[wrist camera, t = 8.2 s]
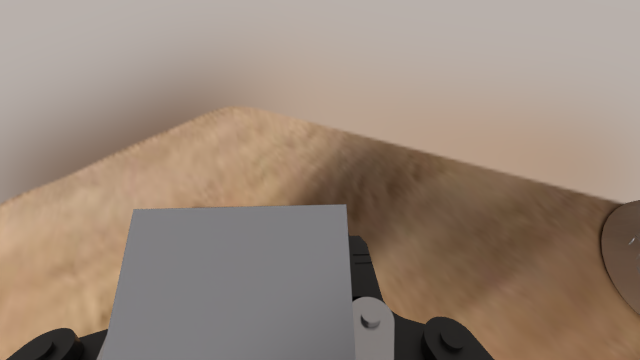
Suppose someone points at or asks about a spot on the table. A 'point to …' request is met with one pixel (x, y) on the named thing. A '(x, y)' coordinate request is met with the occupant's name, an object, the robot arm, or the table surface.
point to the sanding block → (234, 285)
